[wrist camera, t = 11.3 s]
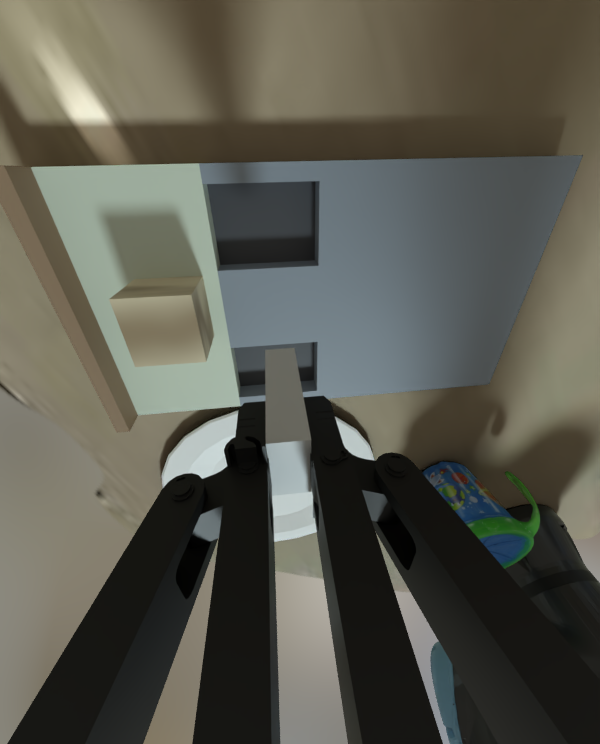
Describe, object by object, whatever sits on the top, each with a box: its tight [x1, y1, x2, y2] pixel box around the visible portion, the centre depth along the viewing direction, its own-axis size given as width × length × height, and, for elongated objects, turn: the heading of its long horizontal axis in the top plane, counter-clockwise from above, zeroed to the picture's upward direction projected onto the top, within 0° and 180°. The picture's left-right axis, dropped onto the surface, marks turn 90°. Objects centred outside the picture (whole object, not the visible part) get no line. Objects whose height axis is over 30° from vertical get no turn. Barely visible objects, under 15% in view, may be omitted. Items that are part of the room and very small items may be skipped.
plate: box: [161, 409, 375, 542], centre depth 36 cm, size 25×25×2 cm
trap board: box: [0, 155, 583, 432], centre depth 22 cm, size 18×34×4 cm, turn 91°
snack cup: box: [422, 462, 540, 569], centre depth 35 cm, size 16×10×10 cm
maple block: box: [109, 276, 214, 367], centre depth 20 cm, size 4×4×4 cm
